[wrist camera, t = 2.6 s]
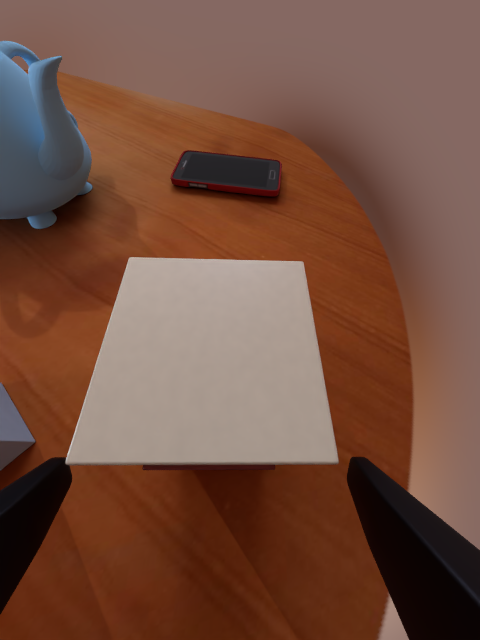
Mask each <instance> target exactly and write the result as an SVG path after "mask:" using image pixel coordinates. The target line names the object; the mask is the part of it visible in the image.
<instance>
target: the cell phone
mask: <svg viewBox="0 0 480 640" xmlns="http://www.w3.org/2000/svg"><path fill="white" fill-rule="evenodd" d="M281 169H282V164H281V162H280V161H278V160H272V159H263V158H254V157H245V156H237V155H228V154H219V153H210V152H201V151H190V150H187V151H184V152H183V153H182V154H181V156H180V158H179V160H178V162H177V164H176V166H175V168H174V170H173V172H172V174H171V181H172V184H174V185H178V186H185V187H197V188H206V189H210V190H219V191H227V192H236V193H244V194H252V195H261V196H271V197H274V196H277V195H278V194H279V190H280V181H281Z"/></svg>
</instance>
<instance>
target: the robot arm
mask: <svg viewBox="0 0 480 640" xmlns="http://www.w3.org/2000/svg"><path fill="white" fill-rule="evenodd" d="M71 482H72V474H71V470H70V465H67V464H66V458H65V457H54V458H51V459H49V460H47V461H46V462H44V463H43V464H41V465H39V466H38V467H36V468H35V469H33V470H32V471H30V472H29V473H27V474H25V475H24V476H22V477H21V478H19V479H18V480H16V481H15V482H13V483H11V484H10V485H8V486H7V487H5V488H4V489H2V490H1V491H0V614H1V613H2V611H3V609H4V608H5V606H6V604H7V602H8V601H9V599H10V597H11V596H12V594H13V592H14V591H15V589H16V587H17V585H18V584H19V582H20V580H21V579H22V577H23V575H24V574H25V572H26V570H27V568H28V567H29V565H30V563H31V562H32V560H33V558H34V556H35V555H36V553H37V551H38V549H39V548H40V546H41V544H42V542H43V540H44V538H45V536H46V534H47V532H48V530H49V528H50V526H51V524H52V522H53V520H54V518H55V516H56V514H57V512H58V510H59V508H60V506H61V504H62V502H63V500H64V498H65V496H66V494H67V492H68V490H69V488H70V485H71ZM347 482H348V486H349V489H350V492H351V495H352V498H353V501H354V504H355V507H356V510H357V513H358V516H359V519H360V522H361V525H362V528H363V530H364V533H365V536H366V539H367V542H368V544H369V547H370V549H371V552H372V554H373V557H374V559H375V561H376V563H377V566H378V568H379V570H380V573H381V575H382V577H383V580H384V582H385V584H386V587H387V589H388V591H389V594H390V596H391V598H392V601H393V603H394V605H395V608H396V610H397V612H398V615H399V617H400V619H401V621H402V624H403V626H404V629H405V631H406V633H407V636H408V638H409V640H480V550H479V549H477V548H476V547H475V546H474V545H473V544H471V543H470V542H469V541H468V540H466V539H465V538H464V537H463V536H461V535H460V534H459V533H458V532H457V531H455V530H454V529H453V528H452V527H450V526H449V525H448V524H446V523H445V522H444V521H443V520H442V519H441V518H439V517H438V516H437V515H436V514H434V513H433V512H432V511H431V510H429V509H428V508H427V507H426V506H424V505H423V504H422V503H421V502H419V501H418V500H417V499H416V498H415V497H413V496H412V495H411V494H410V493H408V492H407V491H406V490H405V489H404V488H402V487H401V486H400V485H399V484H397V483H396V482H395V481H394V480H392V479H391V478H390V477H389V476H387V475H386V474H385V473H384V472H383V471H381V470H380V469H379V468H378V467H376V466H375V465H374V464H373V463H371V462H370V461H369V460H368V459H366V458H365V457H352V458H351V459H350V463H349V468H348V473H347Z"/></svg>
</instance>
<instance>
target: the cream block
mask: <svg viewBox="0 0 480 640" xmlns="http://www.w3.org/2000/svg"><path fill="white" fill-rule="evenodd" d="M338 462H339V460H338V455H337V449H336V443H335V438H334V432H333V427H332V421H331V415H330V410H329V404H328V398H327V393H326V387H325V381H324V376H323V370H322V365H321V359H320V353H319V348H318V342H317V336H316V331H315V325H314V319H313V314H312V308H311V303H310V297H309V291H308V286H307V280H306V274H305V269H304V263H303V262H297V261H257V260H217V259H177V258H138V257H130V258H129V260H128V263H127V266H126V269H125V273H124V276H123V279H122V282H121V285H120V289H119V292H118V295H117V298H116V301H115V305H114V308H113V311H112V314H111V318H110V321H109V324H108V327H107V330H106V334H105V337H104V340H103V343H102V346H101V350H100V353H99V356H98V359H97V362H96V366H95V369H94V372H93V375H92V378H91V382H90V385H89V388H88V391H87V394H86V398H85V401H84V404H83V407H82V410H81V414H80V417H79V420H78V423H77V426H76V430H75V433H74V436H73V439H72V442H71V446H70V449H69V452H68V455H67V458H66V464H67V465H143V470H274V469H275V465H285V464H338Z"/></svg>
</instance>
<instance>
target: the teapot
mask: <svg viewBox="0 0 480 640" xmlns="http://www.w3.org/2000/svg"><path fill="white" fill-rule="evenodd" d="M14 56H20V57H22V58H23V59H24V60H25V61H26V62H27V64H28V65H29V71H28V72H29V75H28V74H27V73H26V72H25V71H24V70H22V69H21V68H20V67H19V66H18V65H17V64H16V63H14V62H13V61H12V60H11V59H12V58H13V57H14ZM61 60H62V56H57V57H52V58H48V59H44V60H41V61H40V59H39V58H38V57H37V56H36V55H35V54H34V53H33V52H32V51H30V50H29V49H28V48H26V47H24V46H22V45H20V44H18V43H15V42H11V41H1V42H0V219H19V218H26V217H27V219H28V221H29V223H30V225H31V226H32V227H33V228H36V229H43V228H47V227H49V226H51V225H53V224H54V223H55V222H56V219H57V217H56V215H55V214H54V213H53V211H52V210H53V209H56V208H58V207H60V206H62V205H64V204H65V203H67V202H68V201H70V200H71V199H73V198H74V197H75V196H76V195H83V194H86V193H88V192H89V191H91V189H92V185H91V184H90V183H88V182H87V179H88V176H89V172H90V168H91V161H92V159H91V152H90V149H89V147H88V145H87V143H86V141H85V139H84V137H83V136H82V134H81V133H80V131H79V130H78V125H77V122H76V119H75V118H74V116H73V115H72V114H71V113H70V112H69V111H67V109H66V107H65V105H64V103H63V100H62V98H61V96H60V93H59V89H58V86H57V71H58V67H59V64H60V62H61Z"/></svg>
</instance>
